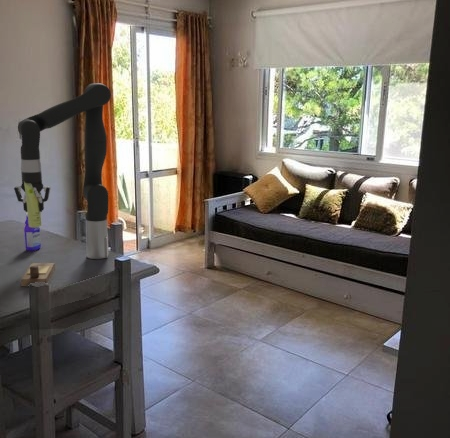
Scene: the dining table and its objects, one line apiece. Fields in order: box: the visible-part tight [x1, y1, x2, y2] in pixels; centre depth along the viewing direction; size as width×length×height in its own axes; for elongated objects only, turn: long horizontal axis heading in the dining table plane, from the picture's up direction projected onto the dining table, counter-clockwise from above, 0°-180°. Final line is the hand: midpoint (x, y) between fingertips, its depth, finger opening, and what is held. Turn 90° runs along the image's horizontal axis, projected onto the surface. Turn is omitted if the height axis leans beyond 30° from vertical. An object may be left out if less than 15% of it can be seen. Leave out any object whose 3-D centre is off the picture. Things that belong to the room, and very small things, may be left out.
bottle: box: [23, 212, 42, 252], centre depth 222 cm, size 7×6×17 cm
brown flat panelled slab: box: [20, 262, 56, 286], centre depth 189 cm, size 9×18×7 cm, turn 9°
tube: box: [24, 182, 42, 228], centre depth 197 cm, size 6×5×20 cm
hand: (33, 211), depth 198 cm, fingers closed on tube, 5 cm apart
